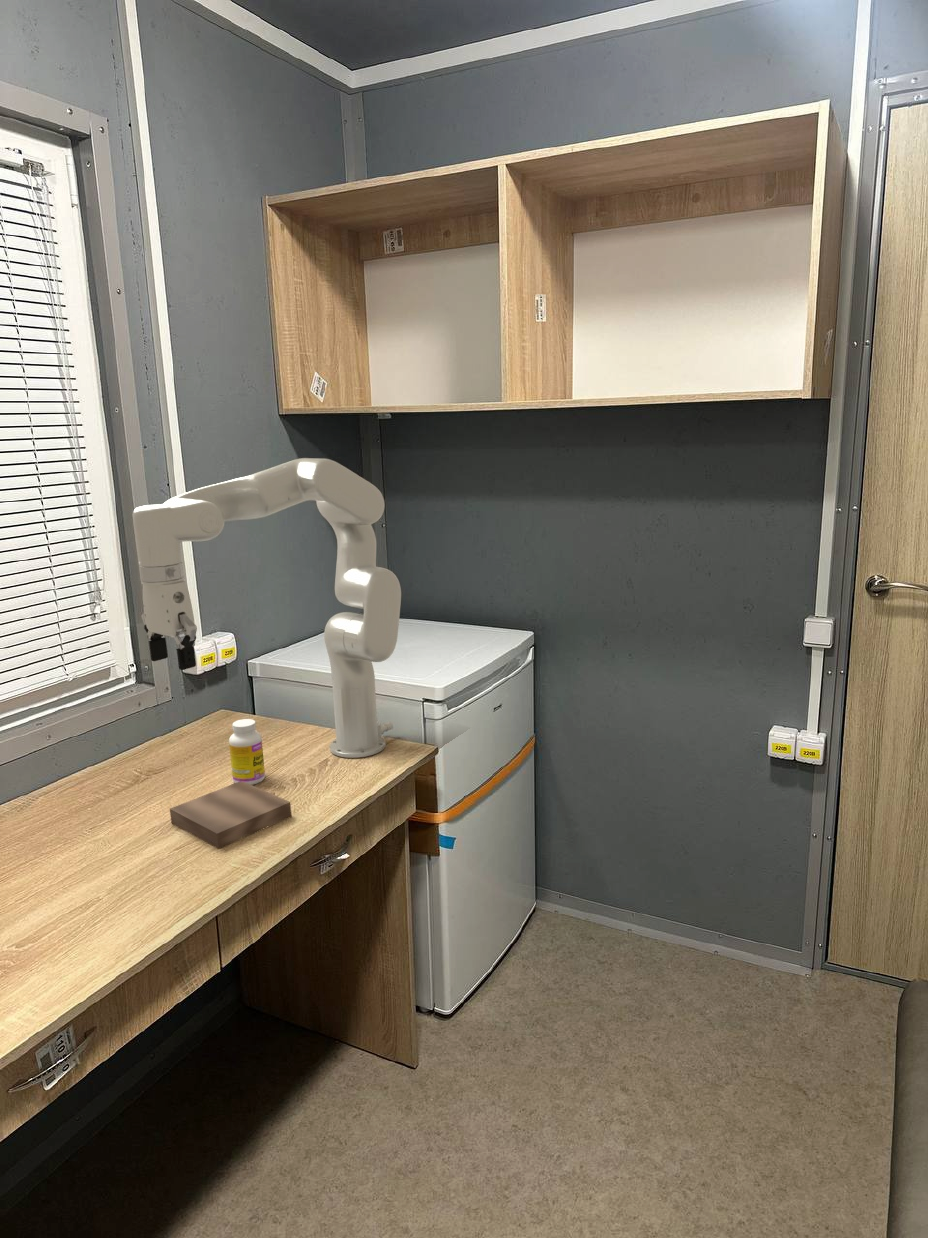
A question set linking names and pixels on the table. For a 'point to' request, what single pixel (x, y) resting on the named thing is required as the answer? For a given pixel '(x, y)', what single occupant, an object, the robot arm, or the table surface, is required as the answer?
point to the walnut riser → (230, 813)
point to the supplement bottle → (246, 753)
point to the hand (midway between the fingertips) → (173, 663)
